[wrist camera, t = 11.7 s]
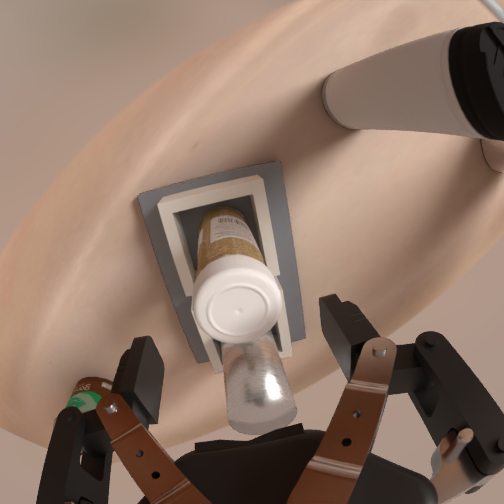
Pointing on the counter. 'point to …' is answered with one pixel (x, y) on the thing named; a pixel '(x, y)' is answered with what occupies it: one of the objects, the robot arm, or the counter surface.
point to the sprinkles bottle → (233, 280)
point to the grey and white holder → (186, 238)
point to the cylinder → (256, 386)
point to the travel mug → (426, 86)
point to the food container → (89, 394)
